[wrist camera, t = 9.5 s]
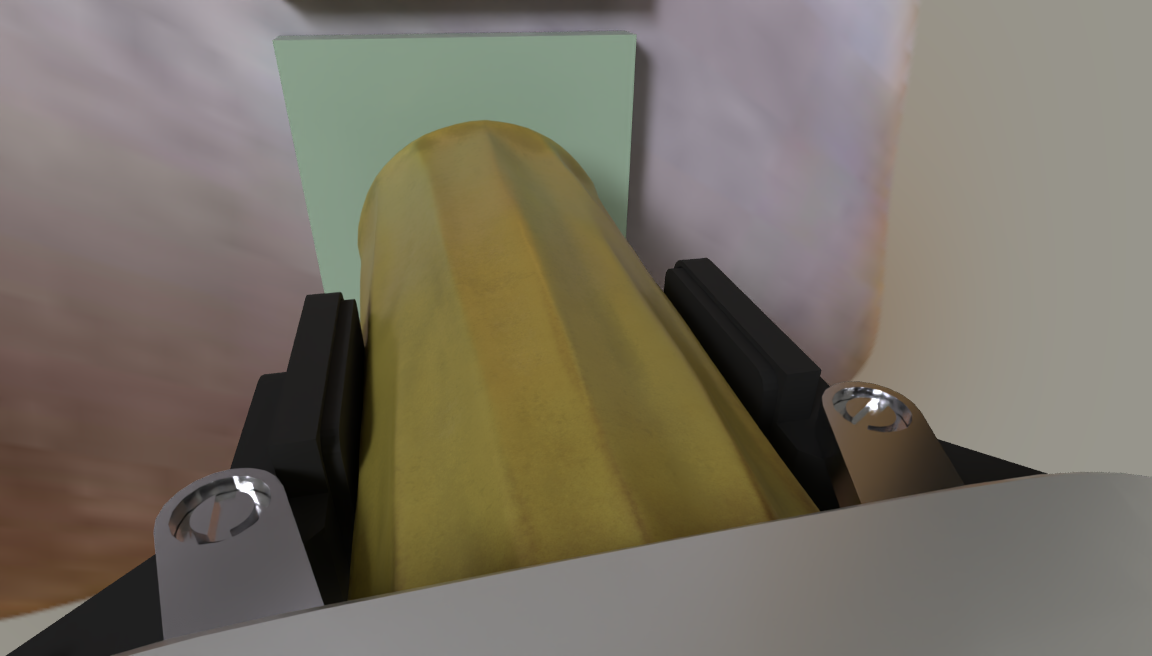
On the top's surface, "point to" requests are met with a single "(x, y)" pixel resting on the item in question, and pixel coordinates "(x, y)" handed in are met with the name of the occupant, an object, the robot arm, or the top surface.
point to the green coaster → (445, 112)
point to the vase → (530, 377)
